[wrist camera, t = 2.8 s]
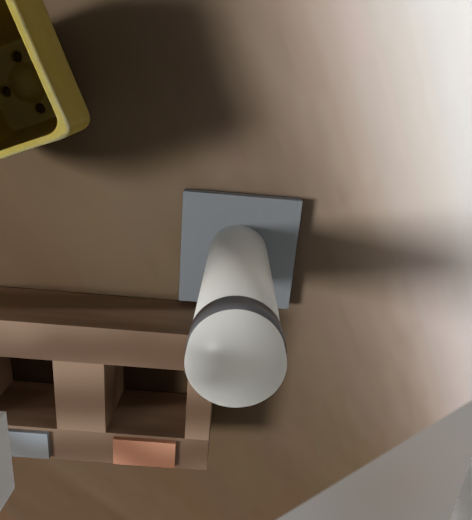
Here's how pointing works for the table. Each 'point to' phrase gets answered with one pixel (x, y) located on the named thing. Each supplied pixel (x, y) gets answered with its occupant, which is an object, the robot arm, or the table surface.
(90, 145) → the table surface
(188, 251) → the mat
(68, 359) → the socket block
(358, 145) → the table surface
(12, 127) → the flower pot
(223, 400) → the plug
